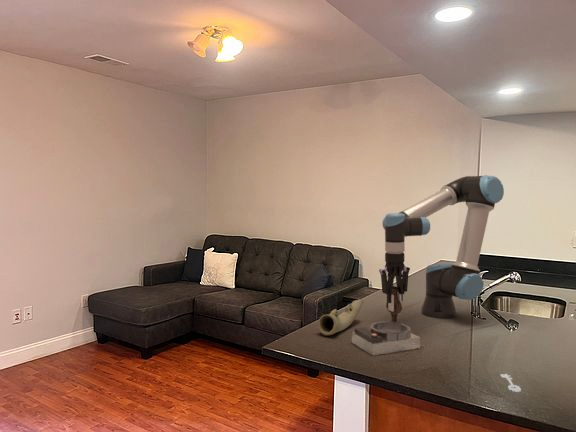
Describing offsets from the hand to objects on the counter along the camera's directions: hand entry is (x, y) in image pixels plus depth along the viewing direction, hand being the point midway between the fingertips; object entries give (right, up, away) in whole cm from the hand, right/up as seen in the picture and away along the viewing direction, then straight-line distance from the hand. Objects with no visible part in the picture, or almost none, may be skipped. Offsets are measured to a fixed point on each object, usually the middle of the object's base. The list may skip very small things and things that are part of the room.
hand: (394, 309), depth 177 cm
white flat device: (-7, -10, -15) cm, 20 cm away
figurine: (0, -8, +1) cm, 9 cm away
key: (+23, -12, -46) cm, 53 cm away
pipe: (-21, -9, +5) cm, 23 cm away
